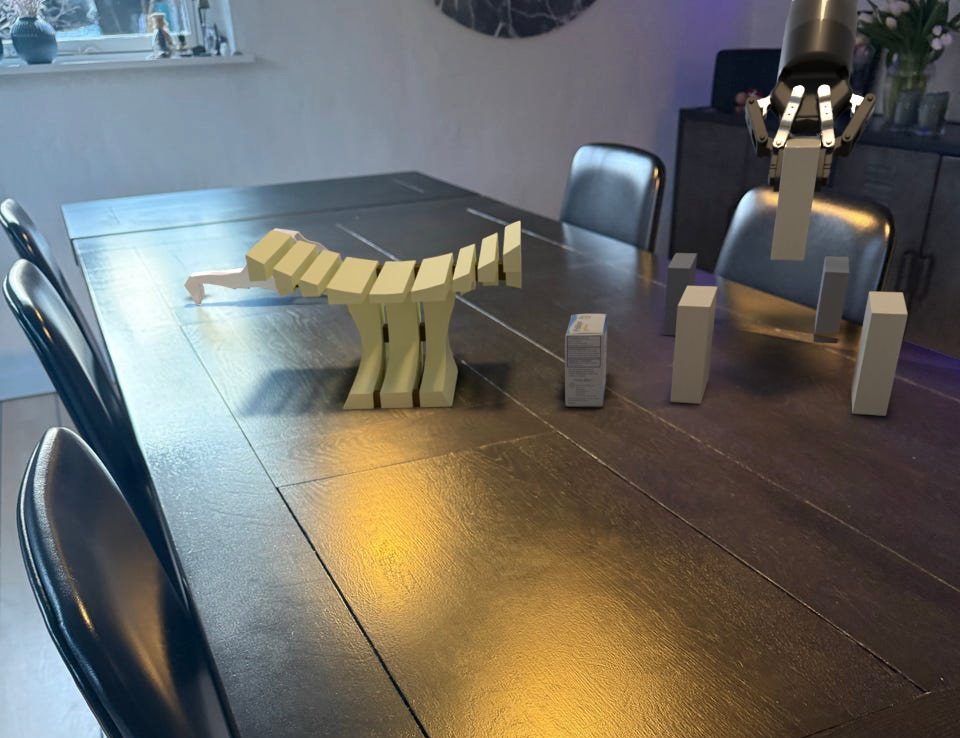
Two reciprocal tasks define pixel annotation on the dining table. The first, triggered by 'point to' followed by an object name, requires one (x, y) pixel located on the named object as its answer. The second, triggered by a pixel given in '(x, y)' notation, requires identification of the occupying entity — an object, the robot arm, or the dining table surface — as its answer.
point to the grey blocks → (827, 307)
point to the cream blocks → (871, 364)
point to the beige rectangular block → (795, 197)
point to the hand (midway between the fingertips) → (797, 186)
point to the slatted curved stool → (392, 309)
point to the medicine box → (585, 360)
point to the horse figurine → (236, 275)
